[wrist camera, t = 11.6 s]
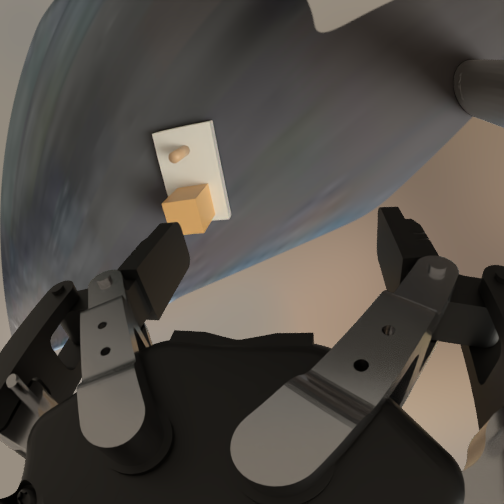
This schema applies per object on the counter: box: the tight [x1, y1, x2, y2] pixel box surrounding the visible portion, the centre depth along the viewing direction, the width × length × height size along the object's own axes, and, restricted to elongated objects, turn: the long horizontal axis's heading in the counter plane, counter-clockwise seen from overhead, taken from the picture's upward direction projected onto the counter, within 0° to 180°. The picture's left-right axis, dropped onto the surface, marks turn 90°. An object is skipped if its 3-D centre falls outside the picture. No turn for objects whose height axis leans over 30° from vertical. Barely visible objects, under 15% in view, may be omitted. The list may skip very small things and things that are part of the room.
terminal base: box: [152, 120, 231, 221], centre depth 42 cm, size 9×15×6 cm, turn 9°
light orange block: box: [162, 183, 215, 235], centre depth 43 cm, size 5×5×6 cm
